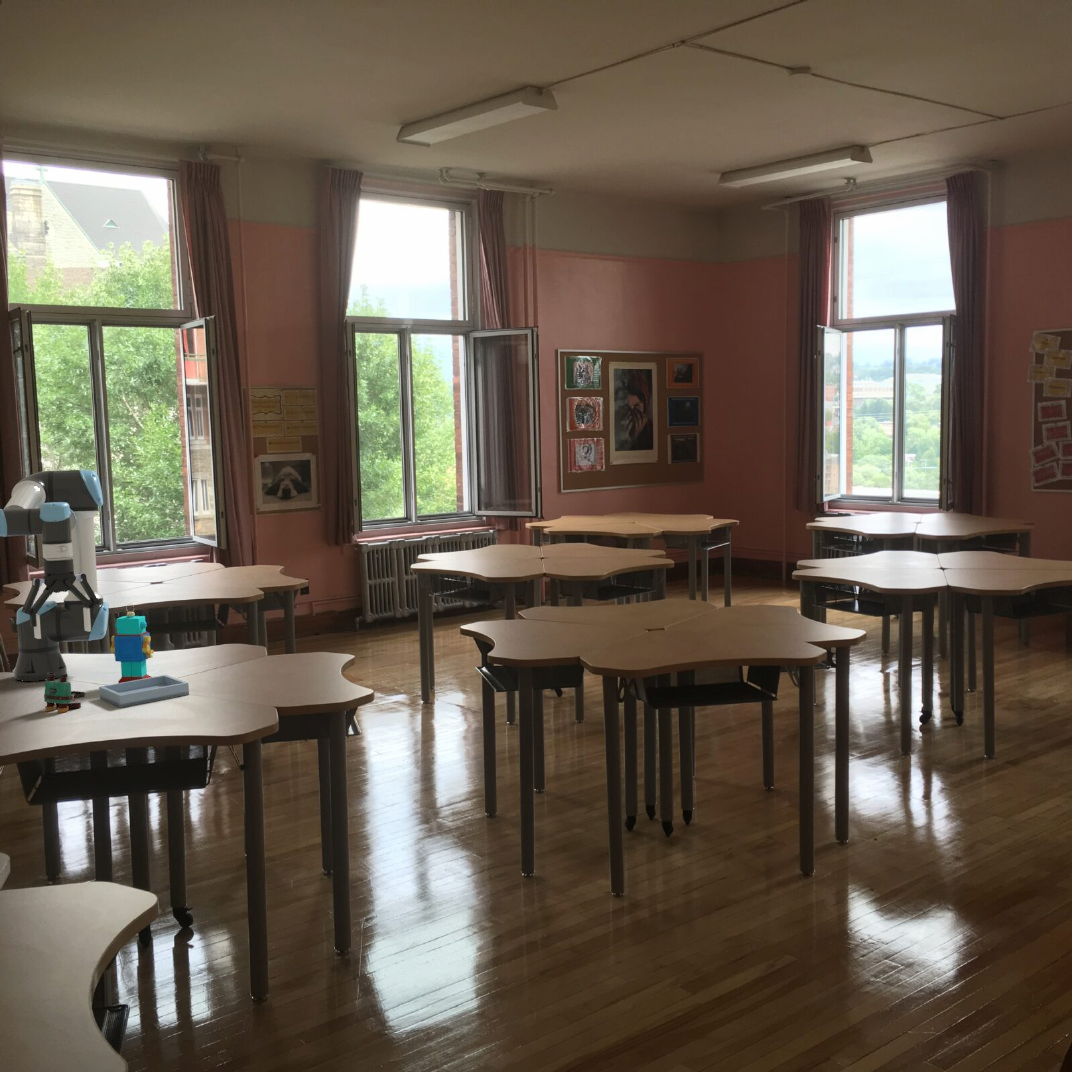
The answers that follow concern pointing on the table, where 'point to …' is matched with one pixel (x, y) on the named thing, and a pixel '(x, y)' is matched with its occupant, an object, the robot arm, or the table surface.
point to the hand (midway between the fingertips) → (63, 634)
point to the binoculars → (60, 693)
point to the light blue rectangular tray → (143, 691)
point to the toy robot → (132, 647)
